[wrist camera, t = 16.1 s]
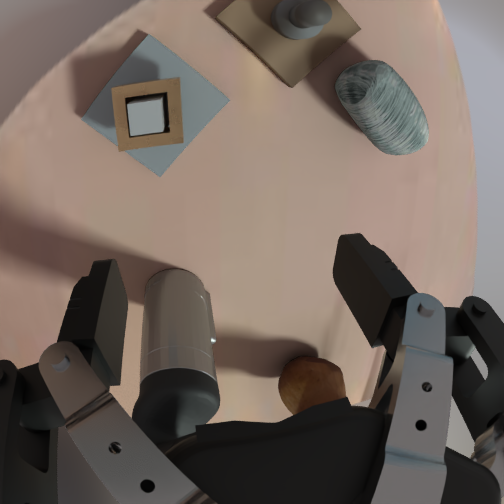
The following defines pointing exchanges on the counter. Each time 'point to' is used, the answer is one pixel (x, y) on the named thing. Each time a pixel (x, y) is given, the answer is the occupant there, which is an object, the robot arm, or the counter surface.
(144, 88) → the square wooden frame
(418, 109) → the teal-grey streaked oval part
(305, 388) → the butternut squash
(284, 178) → the counter surface
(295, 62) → the stand
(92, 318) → the robot arm
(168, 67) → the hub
